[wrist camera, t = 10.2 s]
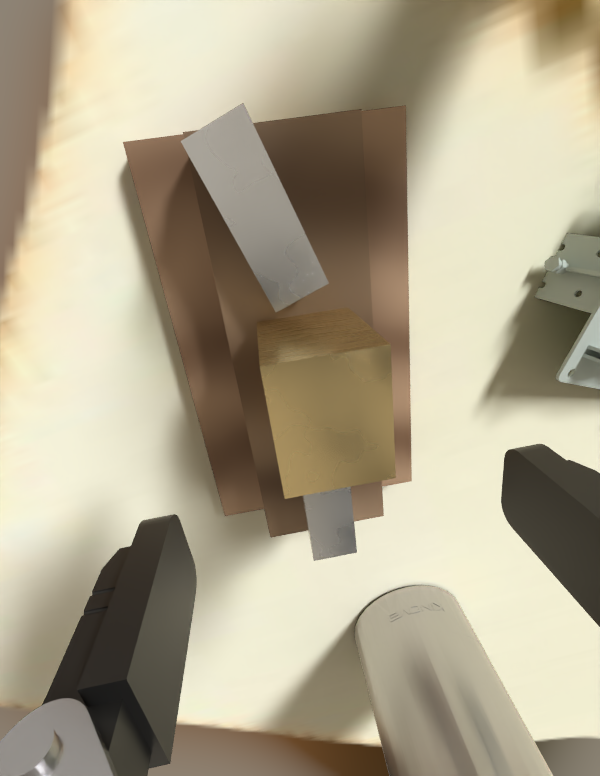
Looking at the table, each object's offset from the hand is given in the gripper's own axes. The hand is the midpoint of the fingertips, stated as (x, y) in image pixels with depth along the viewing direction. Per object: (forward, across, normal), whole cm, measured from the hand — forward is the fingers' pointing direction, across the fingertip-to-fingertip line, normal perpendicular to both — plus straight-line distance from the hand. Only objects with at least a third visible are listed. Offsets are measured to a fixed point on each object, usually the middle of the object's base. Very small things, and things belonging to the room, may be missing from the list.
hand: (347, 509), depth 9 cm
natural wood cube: (+9, 0, 0) cm, 9 cm away
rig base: (+14, 0, 0) cm, 14 cm away
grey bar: (+9, +1, -1) cm, 9 cm away
